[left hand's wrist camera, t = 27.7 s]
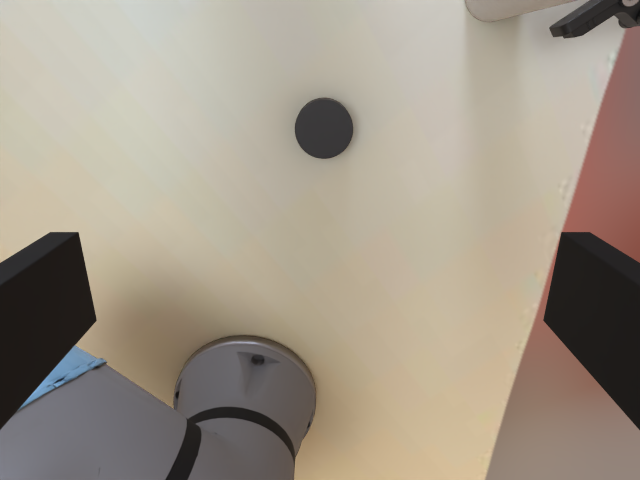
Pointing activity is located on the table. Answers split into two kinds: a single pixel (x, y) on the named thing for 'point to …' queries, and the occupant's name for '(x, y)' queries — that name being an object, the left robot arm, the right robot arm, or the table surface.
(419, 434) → the table surface
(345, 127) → the lid
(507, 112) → the table surface
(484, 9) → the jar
